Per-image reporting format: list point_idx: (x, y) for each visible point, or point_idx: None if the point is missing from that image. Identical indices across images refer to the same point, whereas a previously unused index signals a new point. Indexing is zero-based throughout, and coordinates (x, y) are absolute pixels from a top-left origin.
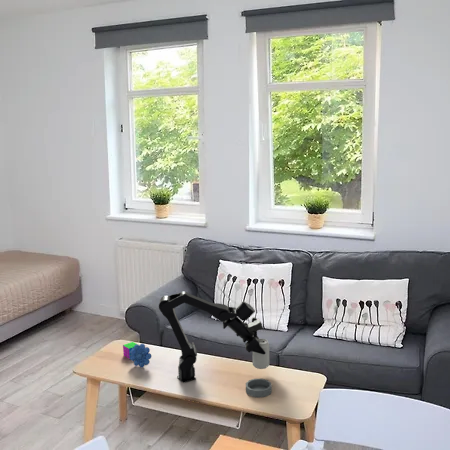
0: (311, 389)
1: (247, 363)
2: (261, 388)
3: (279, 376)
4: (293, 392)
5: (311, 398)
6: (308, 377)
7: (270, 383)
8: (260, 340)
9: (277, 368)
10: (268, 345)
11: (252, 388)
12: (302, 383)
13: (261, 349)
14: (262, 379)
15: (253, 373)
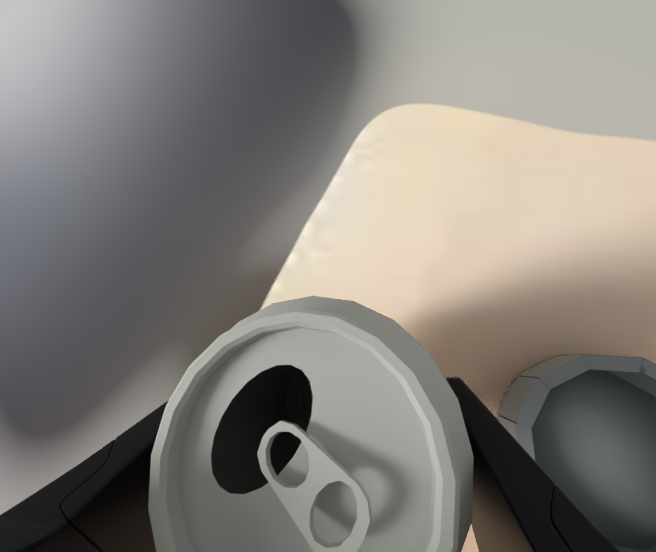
0: (536, 146)
1: None
2: (571, 424)
3: (382, 285)
4: (583, 232)
5: (647, 151)
6: (402, 152)
7: (599, 361)
8: (210, 449)
9: (288, 285)
10: (373, 314)
11: (579, 497)
12: (468, 181)
13: (538, 479)
14: (532, 414)
15: None
